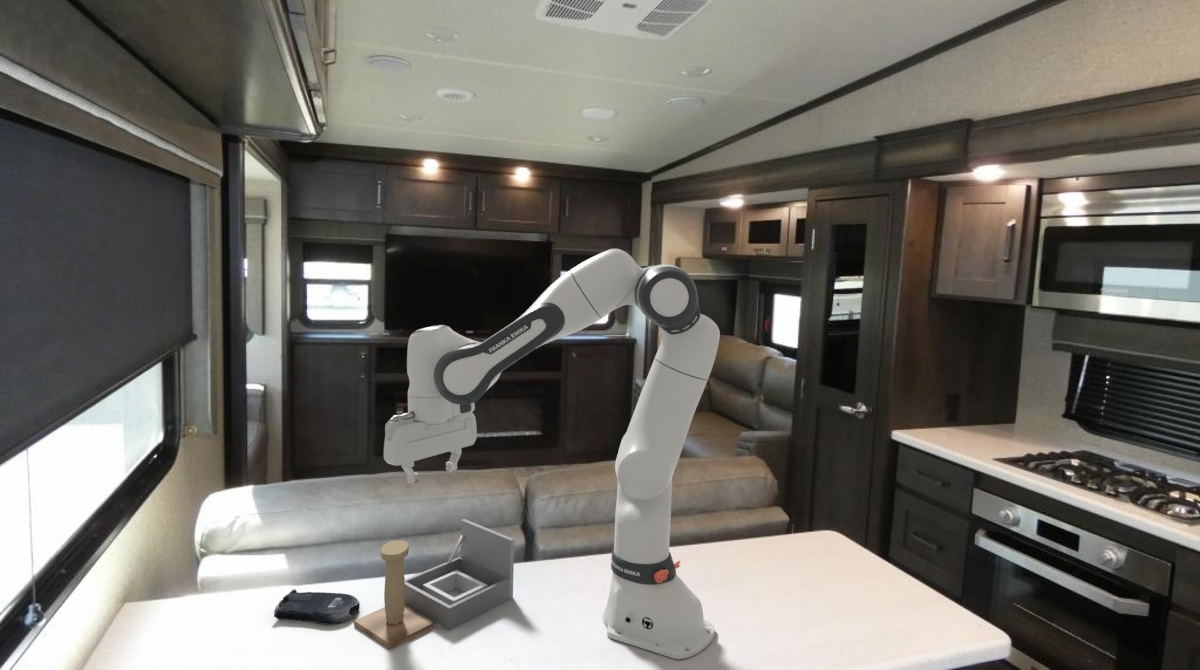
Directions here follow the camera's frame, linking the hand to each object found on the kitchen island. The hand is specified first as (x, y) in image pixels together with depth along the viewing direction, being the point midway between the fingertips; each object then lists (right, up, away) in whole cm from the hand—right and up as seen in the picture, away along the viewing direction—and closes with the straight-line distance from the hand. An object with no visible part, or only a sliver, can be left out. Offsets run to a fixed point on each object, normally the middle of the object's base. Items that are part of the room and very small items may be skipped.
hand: (432, 476), depth 131 cm
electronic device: (-23, -28, +1) cm, 36 cm away
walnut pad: (-7, -29, -3) cm, 29 cm away
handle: (-7, -28, -3) cm, 29 cm away
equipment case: (+3, -28, +8) cm, 29 cm away
